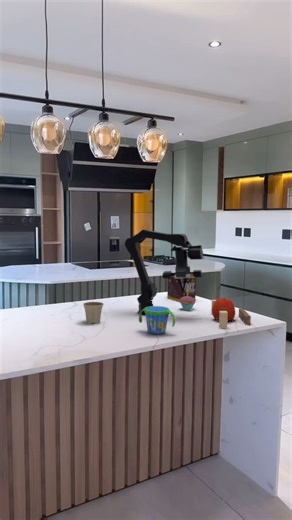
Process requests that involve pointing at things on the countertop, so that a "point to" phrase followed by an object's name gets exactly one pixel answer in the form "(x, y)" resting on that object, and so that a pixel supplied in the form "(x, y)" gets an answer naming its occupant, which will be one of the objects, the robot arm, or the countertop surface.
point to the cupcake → (187, 302)
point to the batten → (245, 316)
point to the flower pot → (93, 311)
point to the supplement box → (175, 288)
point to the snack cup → (156, 318)
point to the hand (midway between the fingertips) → (183, 291)
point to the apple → (223, 308)
